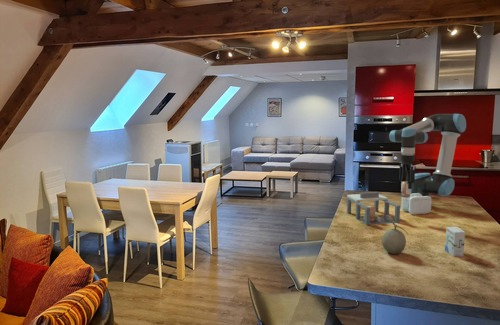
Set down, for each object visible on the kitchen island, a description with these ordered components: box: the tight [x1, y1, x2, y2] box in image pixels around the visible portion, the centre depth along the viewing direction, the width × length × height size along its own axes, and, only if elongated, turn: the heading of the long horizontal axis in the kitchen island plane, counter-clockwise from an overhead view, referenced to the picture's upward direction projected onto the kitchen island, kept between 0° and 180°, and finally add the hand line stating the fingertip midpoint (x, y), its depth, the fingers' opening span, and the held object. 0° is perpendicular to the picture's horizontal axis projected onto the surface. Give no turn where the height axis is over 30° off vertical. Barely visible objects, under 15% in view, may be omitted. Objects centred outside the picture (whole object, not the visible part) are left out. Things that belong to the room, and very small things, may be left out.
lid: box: [346, 191, 389, 202], centre depth 246 cm, size 21×14×4 cm
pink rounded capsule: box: [401, 180, 410, 198], centre depth 233 cm, size 5×5×9 cm
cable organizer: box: [400, 193, 432, 216], centre depth 252 cm, size 15×11×12 cm
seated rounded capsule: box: [367, 204, 376, 222], centre depth 233 cm, size 5×5×9 cm
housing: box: [346, 196, 401, 226], centre depth 240 cm, size 21×27×11 cm
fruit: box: [381, 219, 409, 255], centre depth 183 cm, size 10×12×15 cm
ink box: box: [444, 226, 466, 257], centre depth 182 cm, size 9×5×12 cm, turn 178°
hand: (405, 193), depth 233 cm, fingers closed on pink rounded capsule, 5 cm apart
